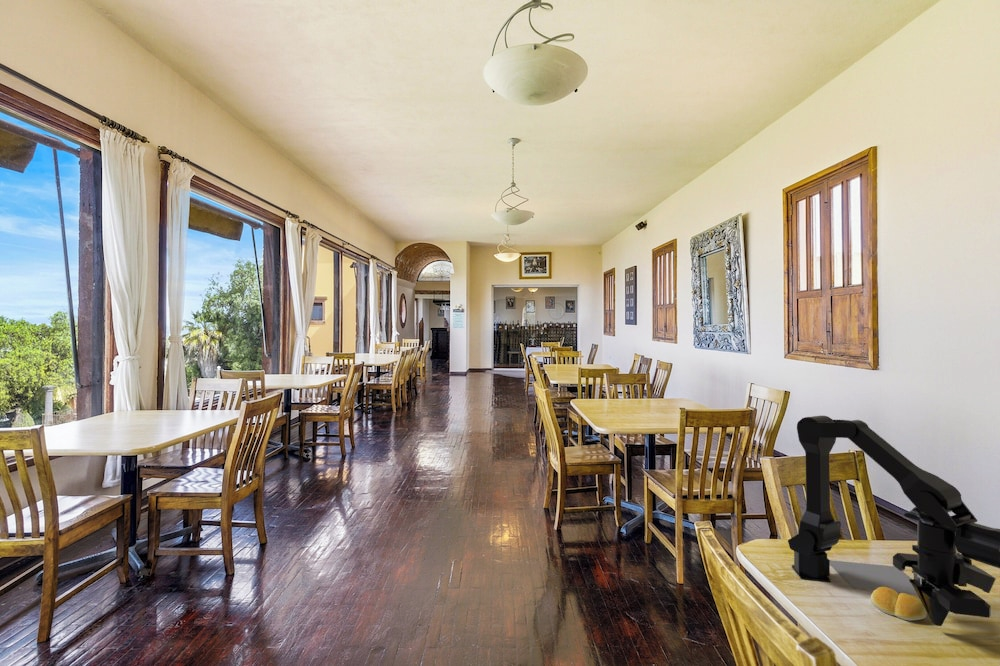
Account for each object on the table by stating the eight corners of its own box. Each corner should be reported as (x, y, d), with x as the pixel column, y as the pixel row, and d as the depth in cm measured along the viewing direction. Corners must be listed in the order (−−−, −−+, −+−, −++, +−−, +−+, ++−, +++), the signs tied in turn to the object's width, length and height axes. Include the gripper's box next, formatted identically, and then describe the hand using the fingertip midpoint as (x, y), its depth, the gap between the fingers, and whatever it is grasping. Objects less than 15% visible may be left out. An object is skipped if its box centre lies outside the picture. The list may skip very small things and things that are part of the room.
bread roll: (923, 627, 94) (921, 607, 94) (868, 609, 101) (866, 590, 101) (930, 611, 99) (929, 592, 99) (878, 594, 106) (876, 577, 106)
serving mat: (853, 589, 109) (853, 588, 109) (826, 560, 123) (826, 559, 123) (933, 597, 105) (933, 596, 105) (896, 567, 119) (896, 566, 119)
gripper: (1027, 575, 81) (1027, 663, 81) (951, 531, 100) (952, 603, 100) (951, 567, 84) (951, 653, 84) (891, 526, 102) (891, 596, 102)
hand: (937, 624), depth 92 cm, fingers closed
